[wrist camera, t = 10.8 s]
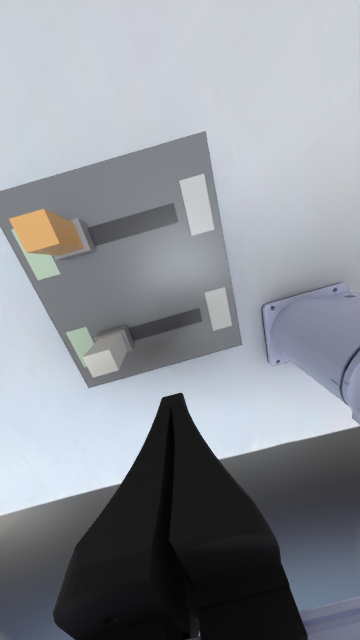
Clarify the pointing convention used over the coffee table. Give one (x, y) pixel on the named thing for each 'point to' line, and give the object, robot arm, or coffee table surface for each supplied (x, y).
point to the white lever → (108, 351)
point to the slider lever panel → (135, 256)
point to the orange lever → (53, 235)
